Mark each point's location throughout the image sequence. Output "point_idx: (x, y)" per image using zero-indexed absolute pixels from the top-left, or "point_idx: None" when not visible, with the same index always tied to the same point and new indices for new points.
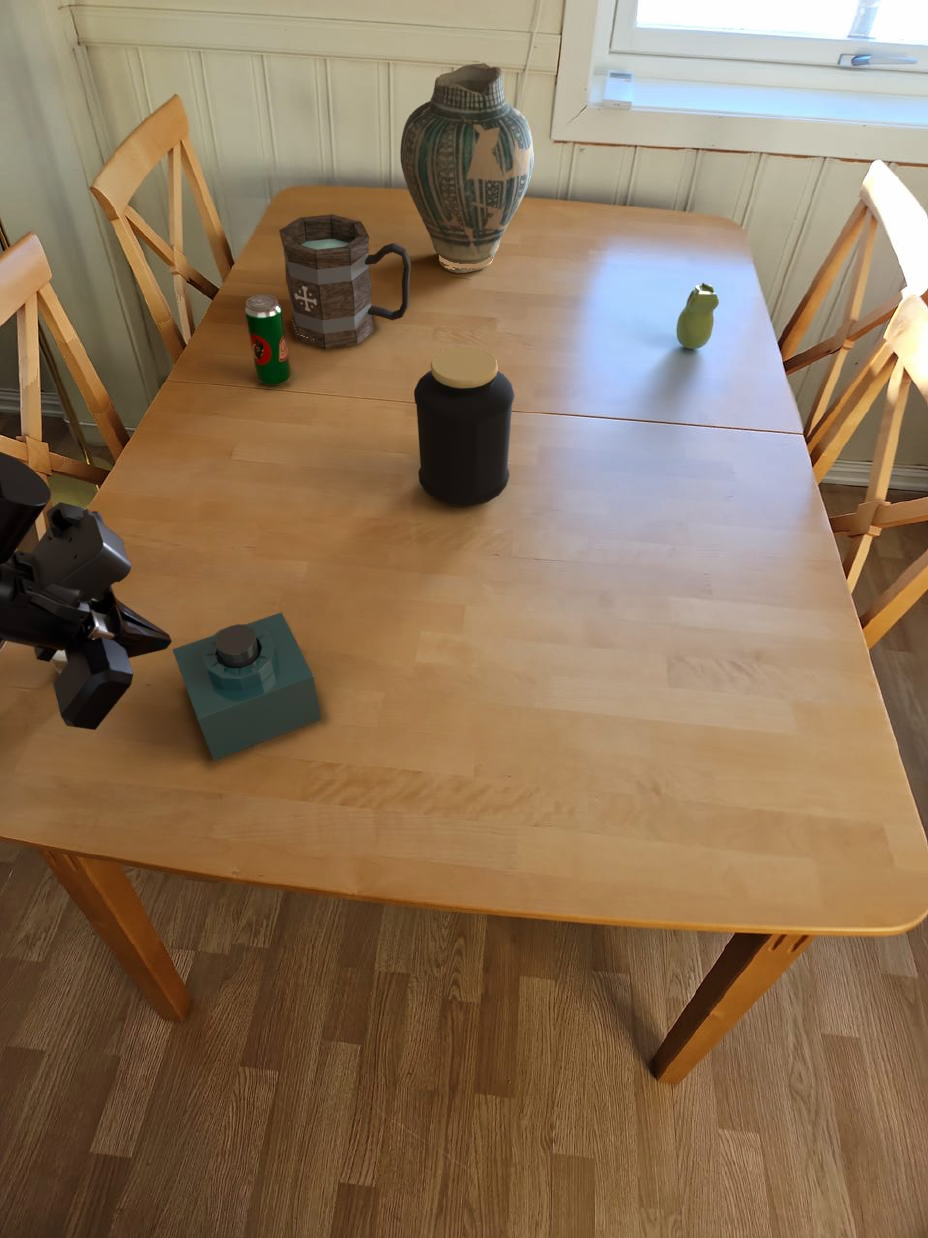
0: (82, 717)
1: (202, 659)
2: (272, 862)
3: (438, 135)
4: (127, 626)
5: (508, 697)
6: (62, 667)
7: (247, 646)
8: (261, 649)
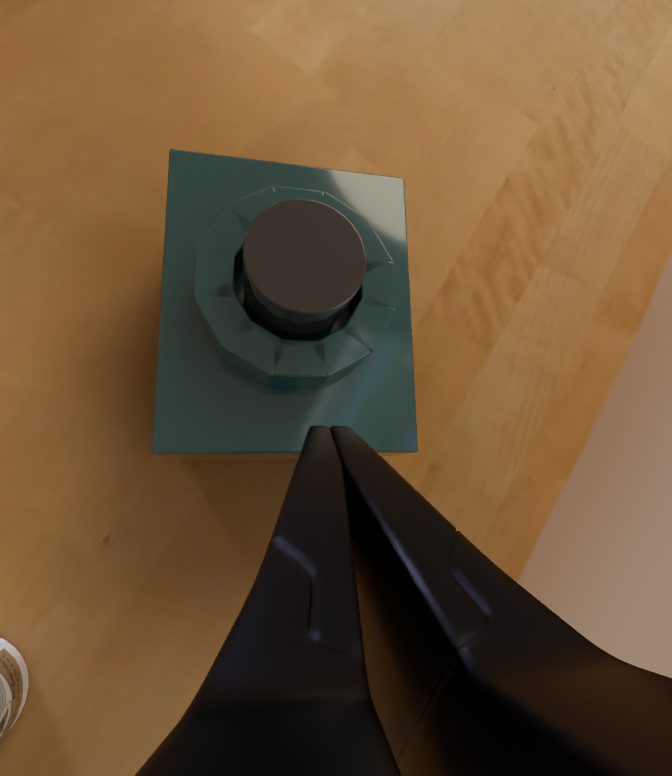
0: None
1: (234, 386)
2: (569, 426)
3: None
4: (517, 643)
5: (438, 10)
6: None
7: (350, 235)
8: None
